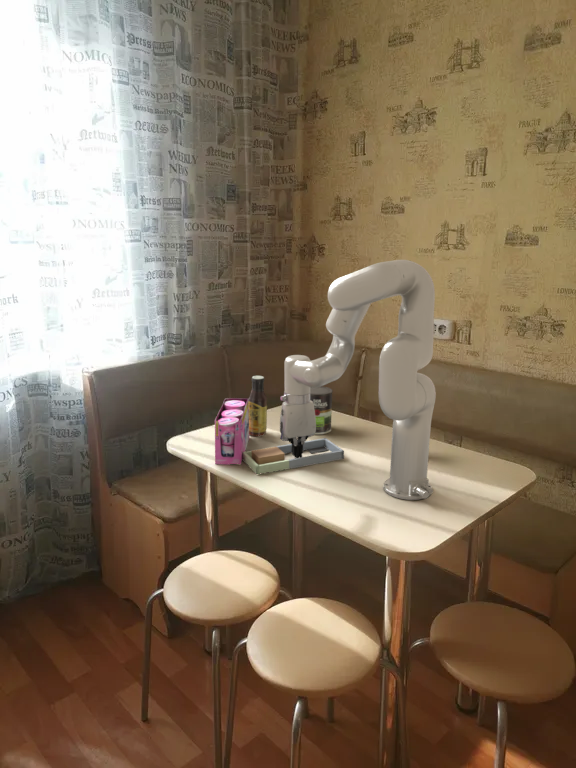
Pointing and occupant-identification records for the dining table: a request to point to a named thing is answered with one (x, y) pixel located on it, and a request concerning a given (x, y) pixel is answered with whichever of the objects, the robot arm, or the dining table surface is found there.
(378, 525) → the dining table surface
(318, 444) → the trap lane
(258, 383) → the sauce bottle
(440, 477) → the dining table surface
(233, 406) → the gum box
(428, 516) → the dining table surface
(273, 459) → the tan block
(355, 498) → the dining table surface
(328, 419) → the coffee can
